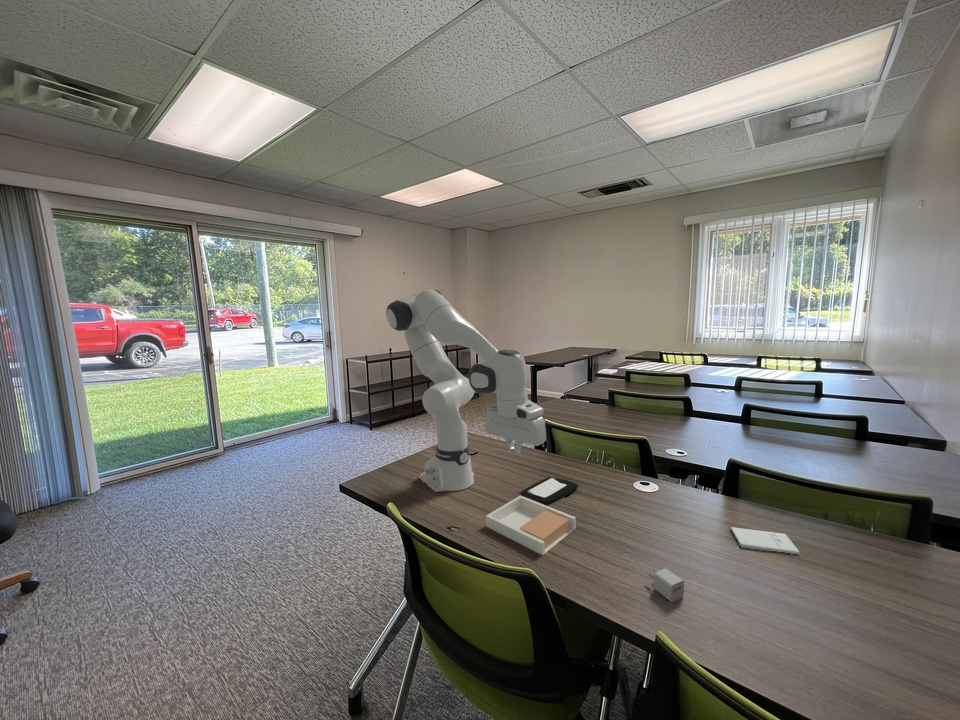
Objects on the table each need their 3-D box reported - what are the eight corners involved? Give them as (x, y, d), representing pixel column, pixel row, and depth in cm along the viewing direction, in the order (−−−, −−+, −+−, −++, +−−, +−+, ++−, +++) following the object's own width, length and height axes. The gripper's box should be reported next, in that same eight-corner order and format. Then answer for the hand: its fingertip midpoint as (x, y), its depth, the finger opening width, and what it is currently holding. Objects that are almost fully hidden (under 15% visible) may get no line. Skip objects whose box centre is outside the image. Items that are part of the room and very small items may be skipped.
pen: (448, 528, 111) (448, 524, 111) (507, 542, 103) (507, 538, 103) (446, 529, 111) (446, 525, 110) (506, 544, 102) (506, 540, 102)
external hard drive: (730, 531, 104) (784, 538, 100) (740, 549, 96) (799, 557, 92) (730, 526, 103) (784, 532, 99) (740, 543, 96) (799, 551, 92)
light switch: (549, 473, 142) (581, 480, 131) (549, 480, 142) (581, 488, 131) (513, 491, 128) (546, 501, 118) (514, 499, 128) (547, 510, 118)
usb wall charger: (670, 603, 79) (670, 585, 79) (644, 582, 85) (644, 566, 85) (683, 596, 81) (684, 579, 80) (657, 576, 87) (657, 560, 86)
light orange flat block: (519, 537, 103) (519, 527, 103) (545, 519, 111) (545, 510, 111) (543, 549, 97) (543, 539, 97) (568, 529, 106) (568, 519, 105)
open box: (486, 528, 109) (485, 515, 109) (520, 507, 121) (520, 495, 120) (542, 558, 95) (542, 543, 95) (575, 530, 106) (575, 517, 106)
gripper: (479, 404, 112) (481, 449, 114) (534, 414, 98) (536, 465, 99) (493, 400, 117) (496, 443, 118) (548, 409, 102) (550, 458, 104)
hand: (514, 453), depth 109 cm, fingers closed
